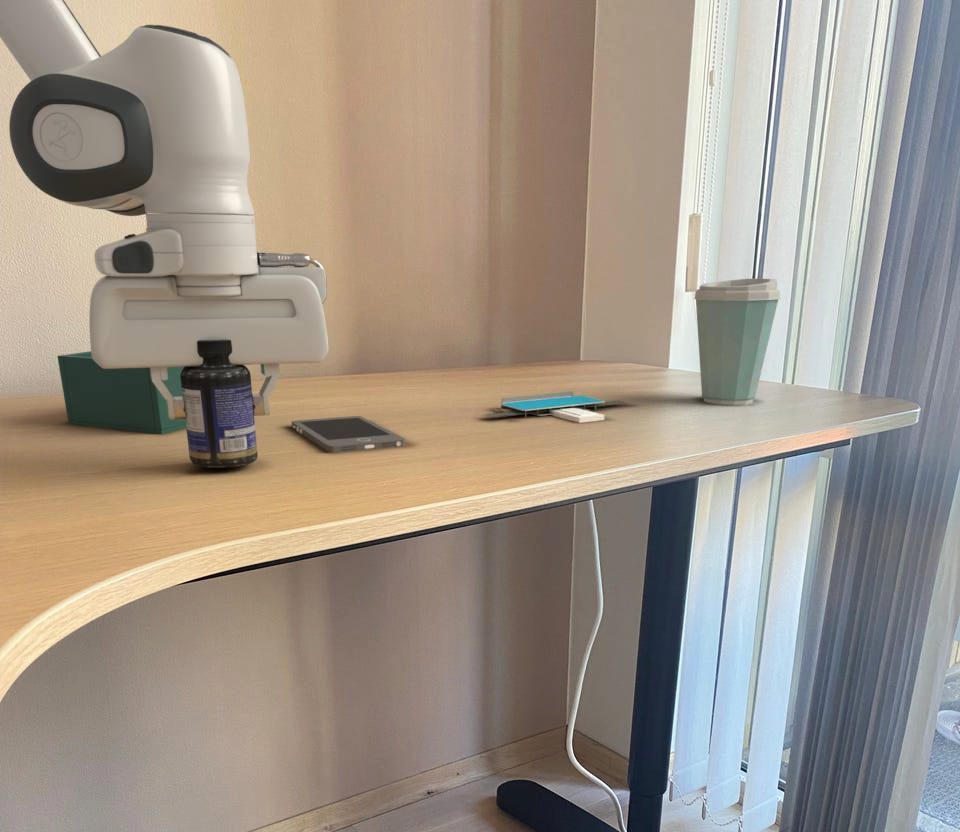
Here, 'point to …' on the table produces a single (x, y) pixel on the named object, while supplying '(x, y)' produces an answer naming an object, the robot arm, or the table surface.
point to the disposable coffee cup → (734, 337)
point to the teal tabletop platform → (554, 406)
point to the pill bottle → (218, 409)
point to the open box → (116, 396)
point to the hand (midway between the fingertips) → (219, 416)
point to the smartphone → (347, 434)
